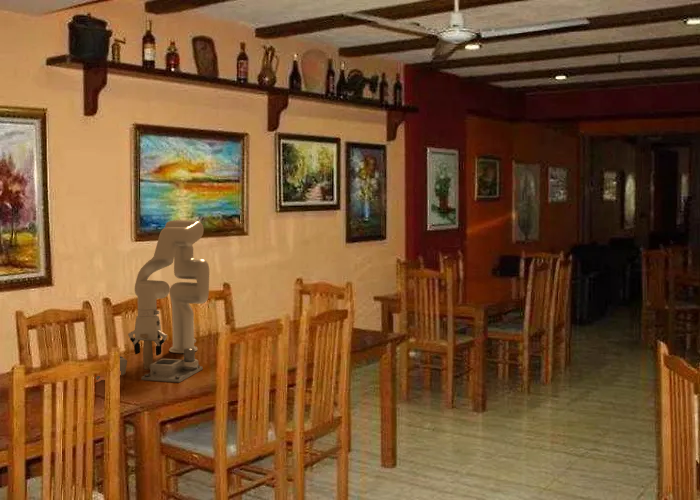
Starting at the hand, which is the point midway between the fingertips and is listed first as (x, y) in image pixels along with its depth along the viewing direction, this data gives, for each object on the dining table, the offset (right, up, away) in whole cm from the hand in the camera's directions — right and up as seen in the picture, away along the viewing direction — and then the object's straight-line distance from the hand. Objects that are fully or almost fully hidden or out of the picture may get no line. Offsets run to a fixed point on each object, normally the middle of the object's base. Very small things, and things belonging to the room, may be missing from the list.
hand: (147, 354), depth 326 cm
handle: (0, -6, +1) cm, 6 cm away
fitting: (+12, -7, -8) cm, 16 cm away
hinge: (-12, -8, -15) cm, 21 cm away
